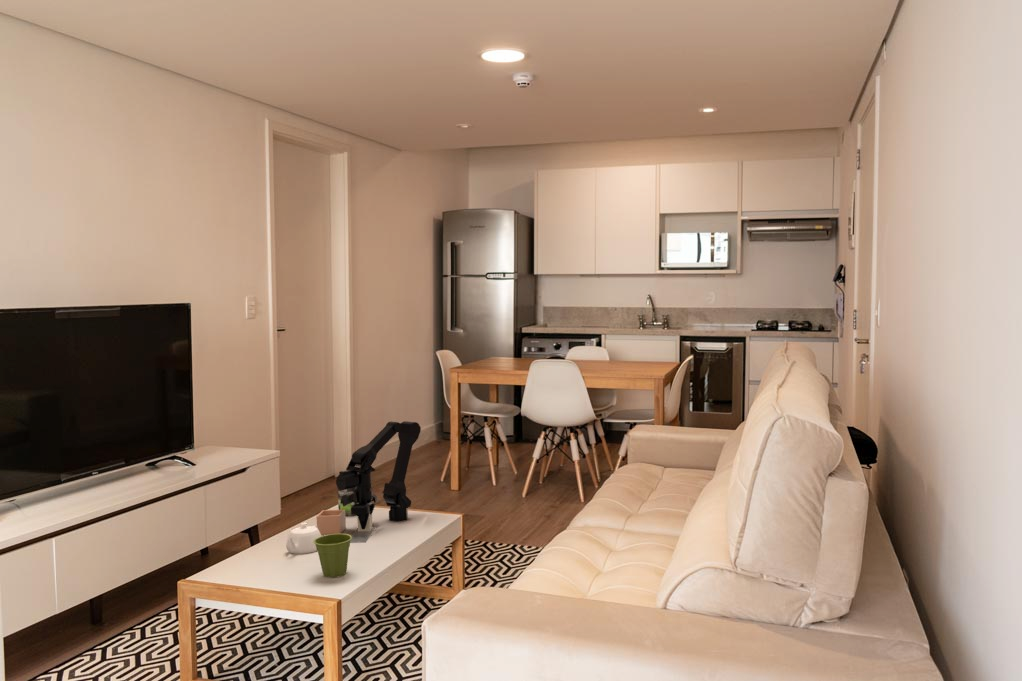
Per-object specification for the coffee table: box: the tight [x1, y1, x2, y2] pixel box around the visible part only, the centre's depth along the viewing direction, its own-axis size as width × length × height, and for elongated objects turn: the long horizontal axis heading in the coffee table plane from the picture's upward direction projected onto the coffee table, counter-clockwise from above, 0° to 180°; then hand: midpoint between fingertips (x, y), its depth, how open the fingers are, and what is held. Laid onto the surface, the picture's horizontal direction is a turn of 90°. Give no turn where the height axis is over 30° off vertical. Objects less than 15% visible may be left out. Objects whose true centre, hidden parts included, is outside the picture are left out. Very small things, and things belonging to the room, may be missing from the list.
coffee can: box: [337, 487, 359, 518], centre depth 320 cm, size 10×10×14 cm
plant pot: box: [313, 533, 352, 578], centre depth 251 cm, size 12×12×11 cm
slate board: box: [350, 526, 377, 544], centre depth 290 cm, size 7×20×1 cm, turn 179°
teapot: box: [285, 522, 322, 555], centre depth 274 cm, size 20×12×10 cm, turn 168°
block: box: [356, 513, 374, 531], centre depth 296 cm, size 4×4×5 cm
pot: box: [316, 509, 347, 536], centre depth 295 cm, size 8×8×8 cm
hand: (365, 526), depth 296 cm, fingers open, 6 cm apart
